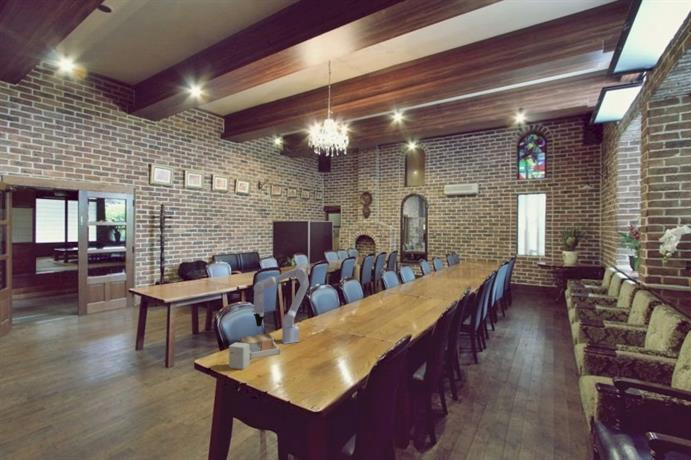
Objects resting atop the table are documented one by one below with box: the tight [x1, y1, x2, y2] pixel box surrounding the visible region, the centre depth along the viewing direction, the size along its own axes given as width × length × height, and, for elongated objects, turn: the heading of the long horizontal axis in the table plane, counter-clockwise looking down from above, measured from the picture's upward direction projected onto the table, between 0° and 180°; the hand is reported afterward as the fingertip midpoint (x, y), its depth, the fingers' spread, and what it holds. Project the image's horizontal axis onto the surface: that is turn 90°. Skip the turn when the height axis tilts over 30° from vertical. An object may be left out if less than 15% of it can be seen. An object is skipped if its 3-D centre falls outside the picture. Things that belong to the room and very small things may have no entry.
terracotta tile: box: [261, 339, 271, 351], centre depth 181 cm, size 5×5×2 cm
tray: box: [250, 341, 281, 360], centre depth 177 cm, size 16×12×3 cm
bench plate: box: [240, 333, 275, 348], centre depth 188 cm, size 16×12×4 cm
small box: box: [228, 342, 251, 370], centre depth 160 cm, size 8×6×10 cm
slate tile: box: [249, 344, 260, 353], centre depth 179 cm, size 5×5×2 cm
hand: (258, 326), depth 194 cm, fingers closed
